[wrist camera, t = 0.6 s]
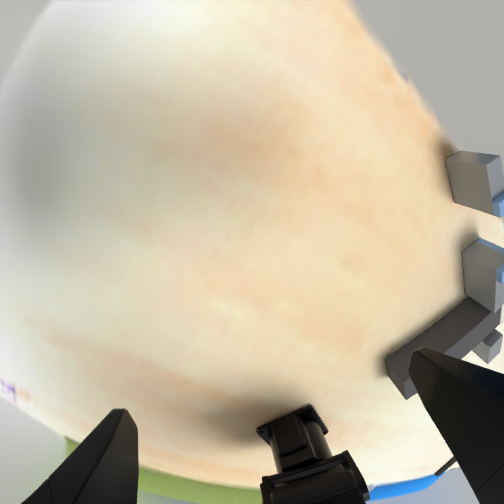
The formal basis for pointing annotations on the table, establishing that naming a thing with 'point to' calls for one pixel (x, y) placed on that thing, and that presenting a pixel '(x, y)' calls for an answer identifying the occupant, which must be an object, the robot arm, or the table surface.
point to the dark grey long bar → (445, 339)
